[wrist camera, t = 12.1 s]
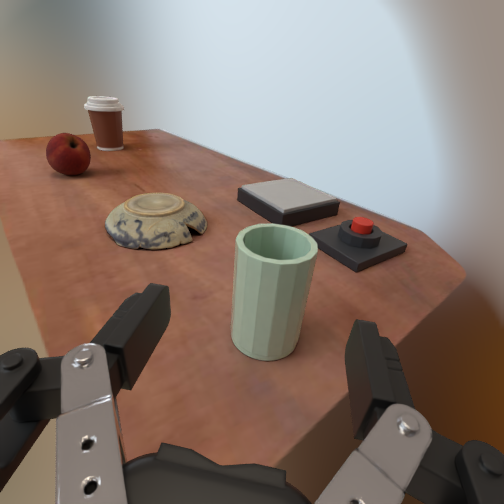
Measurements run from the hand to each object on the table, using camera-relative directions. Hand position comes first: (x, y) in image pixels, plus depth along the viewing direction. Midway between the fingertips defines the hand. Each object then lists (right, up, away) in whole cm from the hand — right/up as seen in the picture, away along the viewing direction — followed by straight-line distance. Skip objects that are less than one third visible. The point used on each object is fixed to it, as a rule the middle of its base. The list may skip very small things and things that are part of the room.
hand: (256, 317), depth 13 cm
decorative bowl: (-15, +7, +33) cm, 37 cm away
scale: (+6, +11, +43) cm, 45 cm away
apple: (-37, +18, +49) cm, 64 cm away
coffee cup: (-38, +31, +69) cm, 85 cm away
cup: (+1, -5, +16) cm, 17 cm away
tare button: (+15, +6, +31) cm, 35 cm away
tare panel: (+15, +4, +32) cm, 35 cm away
